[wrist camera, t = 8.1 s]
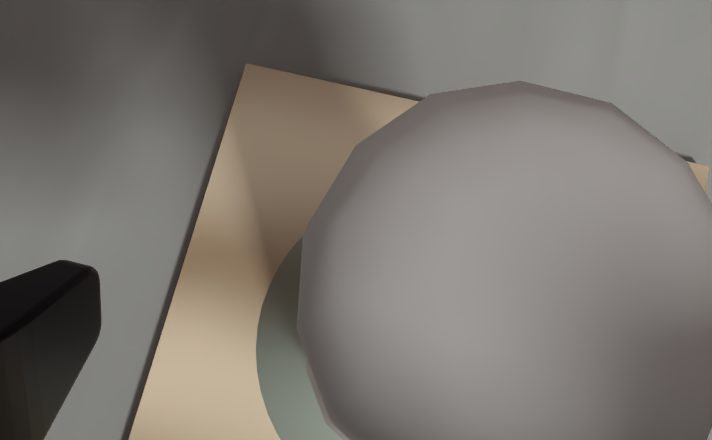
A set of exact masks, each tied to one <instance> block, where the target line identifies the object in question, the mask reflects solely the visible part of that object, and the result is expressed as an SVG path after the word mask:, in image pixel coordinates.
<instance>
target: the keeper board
mask: <svg viewBox="0 0 712 440" xmlns="http://www.w3.org/2000/svg"><path fill="white" fill-rule="evenodd" d="M418 102H419V101H414V100H410V99H405V98H401V97H396V96H392V95H387V94H383V93H378V92H374V91H369V90H365V89H360V88H356V87H351V86H347V85H342V84H338V83H333V82H329V81H324V80H320V79H316V78H311V77H307V76H302V75H298V74H293V73H289V72H284V71H280V70H275V69H271V68H266V67H262V66H257V65H253V64H248V63H246V65H245V68H244V72H243V75H242V78H241V81H240V84H239V88H238V91H237V94H236V97H235V100H234V104H233V107H232V110H231V113H230V116H229V120H228V123H227V126H226V129H225V132H224V136H223V139H222V142H221V145H220V148H219V152H218V155H217V158H216V161H215V164H214V168H213V171H212V174H211V177H210V180H209V184H208V187H207V190H206V193H205V196H204V200H203V203H202V206H201V209H200V212H199V216H198V219H197V222H196V225H195V228H194V232H193V235H192V238H191V241H190V244H189V247H188V251H187V254H186V257H185V260H184V263H183V267H182V270H181V273H180V276H179V279H178V283H177V286H176V289H175V292H174V295H173V299H172V302H171V305H170V308H169V311H168V315H167V318H166V321H165V324H164V327H163V331H162V334H161V337H160V340H159V343H158V347H157V350H156V353H155V356H154V359H153V363H152V366H151V369H150V372H149V375H148V379H147V382H146V385H145V388H144V391H143V395H142V398H141V401H140V404H139V407H138V411H137V414H136V417H135V420H134V423H133V427H132V430H131V433H130V436H129V439H128V440H343V439H342V438H340V437H339V436H338V435H337V434H336V433H335V432H334V431H333V430H332V429H331V428H330V427H328V426H327V425H326V423H325V421H324V418H323V415H322V412H321V410H320V407H319V404H318V401H317V399H316V396H315V393H314V391H313V388H312V385H311V382H310V380H309V377H308V374H307V371H306V361H307V356H306V354H305V351H304V348H303V346H302V343H301V340H300V337H299V335H298V332H297V314H298V300H299V285H300V271H301V256H302V242H303V235H304V232H305V230H306V228H307V225H308V223H309V222H310V220H311V218H312V217H313V215H314V213H315V212H316V210H317V208H318V207H319V205H320V204H321V202H322V200H323V199H324V197H325V195H326V194H327V192H328V190H329V189H330V187H331V185H332V184H333V182H334V180H335V179H336V177H337V176H338V174H339V172H340V171H341V169H342V167H343V166H344V164H345V162H346V161H347V159H348V157H349V156H350V154H351V152H352V151H353V149H354V147H355V146H356V145H357V144H359V143H360V142H361V141H363V140H364V139H366V138H367V137H369V136H370V135H372V134H373V133H375V132H376V131H377V130H379V129H380V128H382V127H383V126H385V125H386V124H388V123H389V122H391V121H392V120H394V119H395V118H396V117H398V116H399V115H401V114H402V113H404V112H405V111H407V110H408V109H410V108H411V107H412V106H414V105H415V104H417V103H418ZM687 162H688V161H687ZM688 164H689V165H690V167H691V169H692V171H693V172H694V174H695V176H696V178H697V179H698V181H699V183H700V185H701V186H702V188H703V190H704V192H705V193H706V186H707V178H708V170H709V166H706V165H701V164H697V163H692V162H688Z"/></svg>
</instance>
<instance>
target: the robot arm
mask: <svg viewBox="0 0 712 440" xmlns="http://www.w3.org/2000/svg"><path fill="white" fill-rule="evenodd" d="M100 329H101V301H100V280H99V275H98V272H97V271H96V269H94V268H93V267H91V266H88V265H84V264H80V263H76V262H72V261H68V260H59V261H56V262H53V263H50V264H47V265H45V266H42V267H39V268H37V269H34V270H32V271H29V272H26V273H24V274H21V275H18V276H16V277H13V278H10V279H8V280H5V281H3V282H0V440H44V438H45V436H46V434H47V432H48V431H49V429H50V427H51V425H52V423H53V421H54V419H55V418H56V416H57V414H58V412H59V410H60V408H61V407H62V405H63V403H64V401H65V399H66V397H67V395H68V394H69V392H70V390H71V388H72V386H73V384H74V382H75V381H76V379H77V377H78V375H79V373H80V371H81V370H82V368H83V366H84V364H85V362H86V360H87V358H88V357H89V355H90V353H91V351H92V349H93V347H94V345H95V344H96V341H97V339H98V336H99V333H100Z"/></svg>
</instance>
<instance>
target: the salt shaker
mask: <svg viewBox="0 0 712 440" xmlns="http://www.w3.org/2000/svg"><path fill="white" fill-rule="evenodd" d="M297 332H298V335H299V337H300V340H301V343H302V346H303V348H304V351H305V354H306V356H307V361H306V371H307V374H308V377H309V380H310V382H311V385H312V388H313V391H314V393H315V396H316V399H317V401H318V404H319V407H320V410H321V412H322V415H323V418H324V421H325V423H326V425H327V426H328V427H330V428H331V429H332V430H333V431H334V432H335V433H336V434H337V435H338V436H339V437H340V438H342V439H343V440H707V438H708V435H709V433H710V430H711V428H712V204H711V202H710V200H709V198H708V197H707V195H706V193H705V192H704V190H703V188H702V186H701V185H700V183H699V181H698V179H697V178H696V176H695V174H694V172H693V171H692V169H691V167H690V165H689V164H688V162H687V161H685V160H684V159H683V158H681V157H680V156H679V155H678V154H676V153H675V152H674V151H672V150H671V149H670V148H669V147H667V146H666V145H665V144H663V143H662V142H661V141H660V140H658V139H657V138H656V137H654V136H653V135H652V134H651V133H649V132H648V131H647V130H645V129H644V128H643V127H642V126H640V125H639V124H638V123H636V122H635V121H634V120H633V119H631V118H630V117H629V116H627V115H626V114H625V113H624V112H622V111H621V110H620V109H619V108H617V107H616V106H615V105H613V104H612V103H609V102H605V101H601V100H597V99H593V98H589V97H585V96H580V95H576V94H572V93H568V92H564V91H560V90H556V89H552V88H548V87H544V86H540V85H536V84H532V83H528V82H523V81H516V82H509V83H503V84H496V85H489V86H482V87H476V88H469V89H462V90H456V91H449V92H442V93H435V94H430V95H429V96H427V97H426V98H424V99H423V100H421V101H420V102H418V103H417V104H415V105H414V106H412V107H411V108H410V109H408V110H407V111H405V112H404V113H402V114H401V115H399V116H398V117H396V118H395V119H394V120H392V121H391V122H389V123H388V124H386V125H385V126H383V127H382V128H380V129H379V130H377V131H376V132H375V133H373V134H372V135H370V136H369V137H367V138H366V139H364V140H363V141H361V142H360V143H359V144H357V145H356V146H355V147H354V149H353V151H352V152H351V154H350V156H349V157H348V159H347V161H346V162H345V164H344V166H343V167H342V169H341V171H340V172H339V174H338V176H337V177H336V179H335V180H334V182H333V184H332V185H331V187H330V189H329V190H328V192H327V194H326V195H325V197H324V199H323V200H322V202H321V204H320V205H319V207H318V208H317V210H316V212H315V213H314V215H313V217H312V218H311V220H310V222H309V223H308V225H307V228H306V230H305V232H304V235H303V242H302V256H301V271H300V285H299V300H298V314H297Z"/></svg>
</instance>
